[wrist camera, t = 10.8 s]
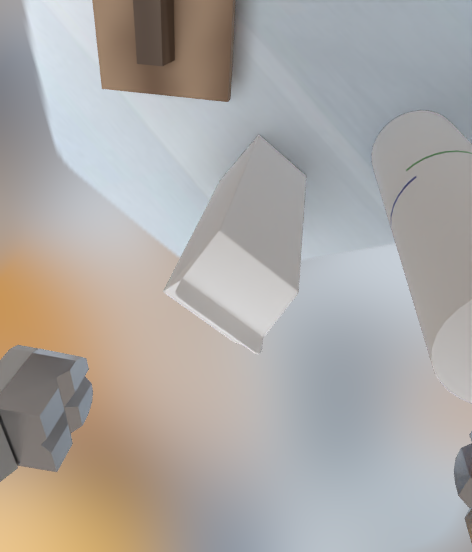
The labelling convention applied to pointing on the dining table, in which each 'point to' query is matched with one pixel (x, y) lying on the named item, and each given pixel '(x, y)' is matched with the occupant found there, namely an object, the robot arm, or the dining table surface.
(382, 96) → the dining table surface
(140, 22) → the lid
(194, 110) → the dining table surface
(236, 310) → the milk
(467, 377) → the cylindrical container
